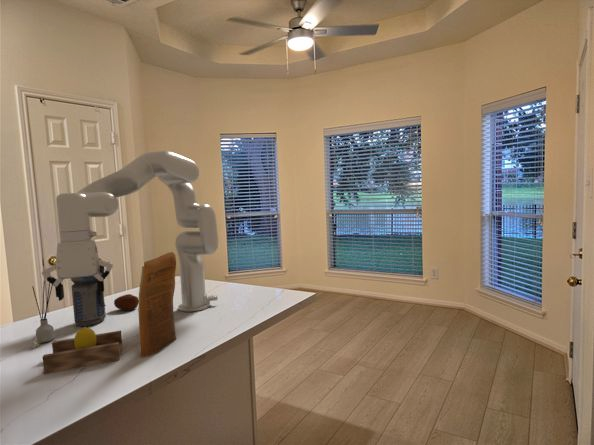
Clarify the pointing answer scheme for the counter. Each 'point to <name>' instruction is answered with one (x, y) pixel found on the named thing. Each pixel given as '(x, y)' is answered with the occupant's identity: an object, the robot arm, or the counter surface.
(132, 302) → the potato
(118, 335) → the u rest
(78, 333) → the lemon
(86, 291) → the beverage bottle
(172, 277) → the pancake mix bag
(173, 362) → the counter surface
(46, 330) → the reed diffuser
